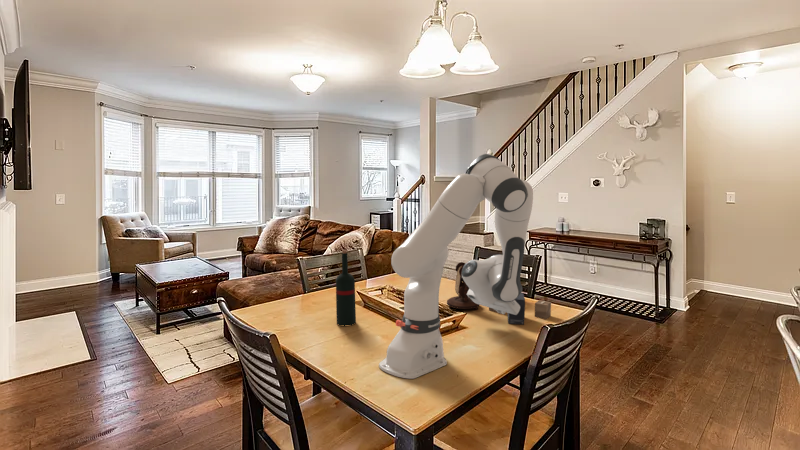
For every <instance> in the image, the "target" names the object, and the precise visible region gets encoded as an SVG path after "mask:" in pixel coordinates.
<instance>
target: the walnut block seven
mask: <svg viewBox="0 0 800 450" xmlns="http://www.w3.org/2000/svg"><path fill="white" fill-rule="evenodd" d="M489 311H490V312H494V313H498V312H497V311H496V310H494V309H493V308H489V307H488V312H489Z"/></svg>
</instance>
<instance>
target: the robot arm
mask: <svg viewBox="0 0 800 450" xmlns="http://www.w3.org/2000/svg"><path fill="white" fill-rule="evenodd" d="M485 200H487V201H488V202H489V203H491V204H492V206H493V207H494V208H495V211H494V228H495V232H496V235H497V238H498V240H499V244H500V246H501V251H502V253H501V254H500V253H499V254H493V255H491V256H490V257H488V258H486V259H471V260H468V261H467V262H465V263H466V264H465V265H464V266H463V268H462V278H463V280H464V281H465V283H466V285H467V286H468V287H469V290H468V292H467V296H468V297H470V299H471V300H472V301H473V302H474V303H476V304H479V305H480V306H483V307H486V308H488V309H489V308H493V309H494V310H496V311H497V312H496V313H498V314H501V315H505V314H506V313H507V314H508V313H510V314H514V315H517V314H518V312H519V310H520V305H519V304H518V303H517V302H516V301H515V299H517V298H518V297H519V295H520V294H521V293H523V286H522V283H521V274H522V268H523V262H524V257H525V256H524V254H525V247H526V240H527V232H528V227H529V223H530V218H531V215H532V214H531V213H532V210H533V203H534V202H533V200H534V190H533V187H532V184H530V183H529V182H528V181H527V180H525V179H521V178H519V176H517V174H516V173H515V172H514V171H513V170H512V169H511V167H509V166H508V165H507V164H505V163H504V162H503V161H501V160H500V159H499V158H498V157H497V156H494V155H493V154H489V153H483V154H481V155H479V156H478V157H476V158H475V159H473V161H472V162H471V163H470V164H469V166H468V167H467V168H466V171H465V173H460V174H458V175H456V177H455V178H454V179H453V180H452V181H451V182H450V183H449V184H448V185H447V186H446V187H445V189H444V190H443V192H441V194H440V196H439V197H438V198H437V200H436V202H435V203H434V205H433V206H432V208H431V209H430V210H429V212H428V214H427V215H426V217H425V218H424V219H423V221H421V222H420V224H418V226H417V227H416V228H415V229H414V230H413V231H412V232H411V233H410V235H409V236H408V237H407V238H406V239H405V240H404V241H403V242H402V243H401V245H400V246H398V247H397V248H395V250H394V251H393V253H392V255H391V258H390V260H391V267H392V269H393V271H394V272H395V274H396V275H398V276H399V277H402V278H406V279H408V278H409V280H408V283H407V286H406V287H405V289H404V292H403V294H404V295H403V300H404V301H403V303H404V304H403V306H404V310H403V311H404V314H403V316H402V318H401V320H400V319H396V321H395V326H396V327H400V329H399V331H398V332H397V334H396V335H395V336H394V338H393V339H392V340H391V342H390V343H389V345H388V346H387V350H386V357H385V358H383V360H381V361H380V362H379V363H378V367H379V369H380V370H381V371H383V372H385V373H386V374H390V375H392V376H395V377H398V378H403V379H410V380H411V379H417V378H418V377H421V376H423V375H426V374H428V373H430V372H432V371H435V370H438V369H439V368H443V367H444V366H446V365H447V364H448V363H447V362H448V361H447V359H446V358H445V355H444V354H445V352H444V344H443V343H444V342H443V341H444V340H443V337H442V334H441V331H440V327H441V316H440V314H439V313H440V312H439V308H440V307H439V299H440V297H439V295H440V287H441V282H442V279H443V278H442V277H443V271H444V267H445V263H446V261H447V260H448V257H449V247H448V246H449V245H450V244H451V243H452V242H453V241H454V240H456V238H457V237H458V236H459V235H460V233H461V232H462V230H463V228H464V227H465V225H466V224H467V223H468V221H469V220H470V218H471V217H472V215H473V214H474V213H475V211H476V209H477V207H478V206H479V204H480V203H481V202H482V201H485Z"/></svg>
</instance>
